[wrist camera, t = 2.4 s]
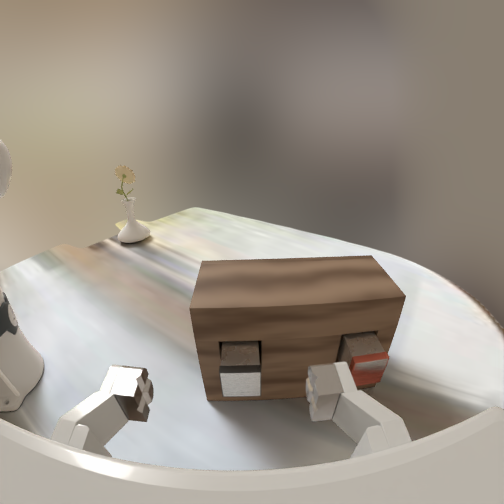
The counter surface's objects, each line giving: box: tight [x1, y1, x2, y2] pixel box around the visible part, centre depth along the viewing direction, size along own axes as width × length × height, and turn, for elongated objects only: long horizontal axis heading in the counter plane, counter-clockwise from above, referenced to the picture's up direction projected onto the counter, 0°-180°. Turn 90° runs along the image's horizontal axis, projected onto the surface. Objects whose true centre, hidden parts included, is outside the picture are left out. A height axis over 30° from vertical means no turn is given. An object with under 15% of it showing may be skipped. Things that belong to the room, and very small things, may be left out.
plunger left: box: [219, 340, 261, 397], centre depth 31 cm, size 8×4×4 cm, turn 2°
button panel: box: [190, 256, 406, 401], centre depth 37 cm, size 11×24×16 cm, turn 92°
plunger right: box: [337, 331, 389, 386], centre depth 32 cm, size 8×4×4 cm, turn 2°
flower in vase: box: [115, 166, 150, 243], centre depth 86 cm, size 13×11×25 cm
